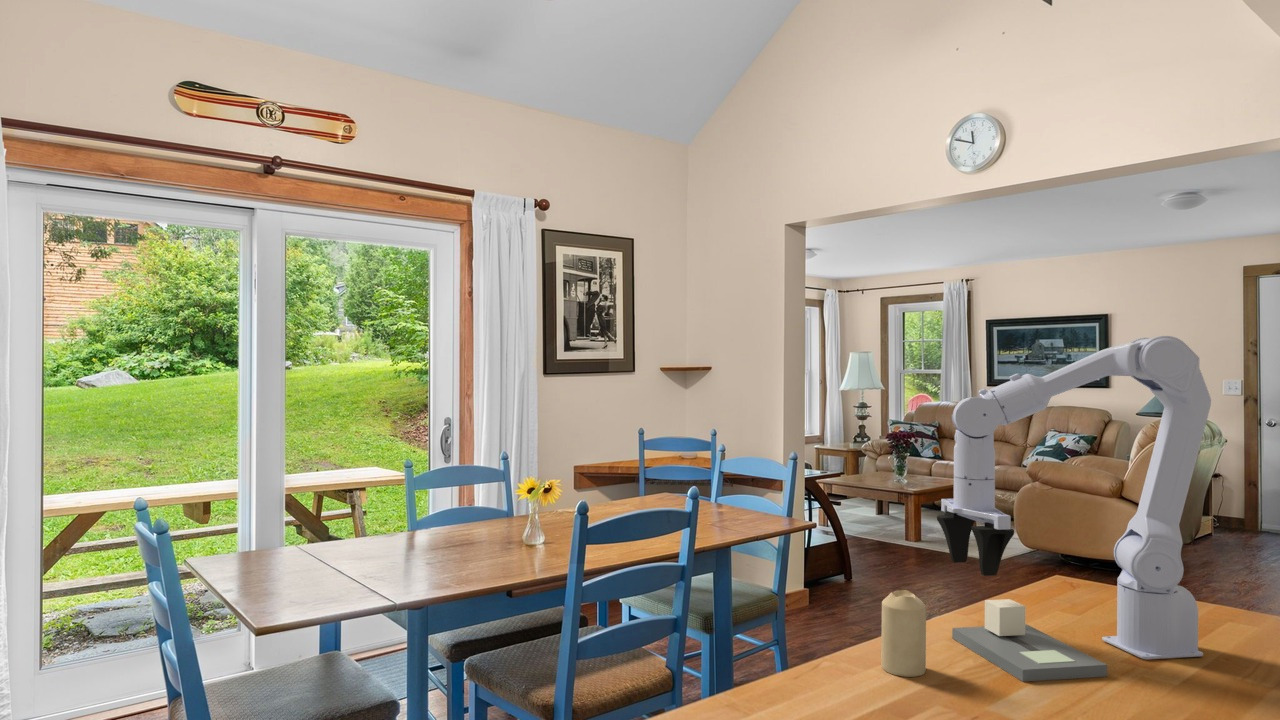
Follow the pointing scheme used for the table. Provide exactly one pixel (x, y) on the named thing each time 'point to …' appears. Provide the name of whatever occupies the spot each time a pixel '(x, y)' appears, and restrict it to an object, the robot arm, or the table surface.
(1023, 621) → the knob
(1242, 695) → the table surface
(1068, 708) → the table surface
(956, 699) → the table surface
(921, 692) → the table surface
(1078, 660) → the slider board
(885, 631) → the candle
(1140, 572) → the robot arm
